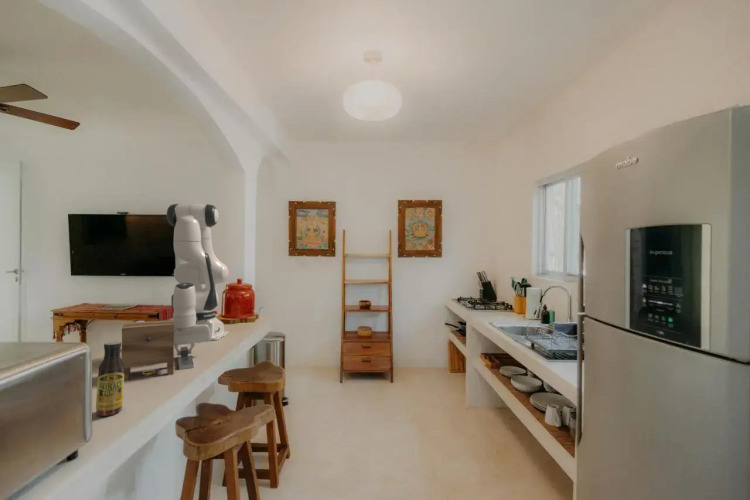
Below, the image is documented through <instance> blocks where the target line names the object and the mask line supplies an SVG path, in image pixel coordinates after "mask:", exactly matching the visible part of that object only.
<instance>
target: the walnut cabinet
mask: <svg viewBox="0 0 750 500" xmlns="http://www.w3.org/2000/svg"><path fill="white" fill-rule="evenodd" d="M174 350H175V348H174V322H173V320H168V319H164V320H163V319H162V320H152V321H151V320H150V321H148V320H147V321H145V322H136V321H134V322H126V323H124V324H123V325H122V328H121V360H122V361H123V363H124V382H126V381H129V380H130V374H131V368H137V367H143V366H144V367H145V366H152V365H159V364H166V369H167V370H166V371H167V372H166V374H167V375H169V376H170V375H174V367H175V366H174V365H175V364H174V363H175V361H174V359H175V358H174V357H175V356H174V355H175V351H174Z"/></svg>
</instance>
